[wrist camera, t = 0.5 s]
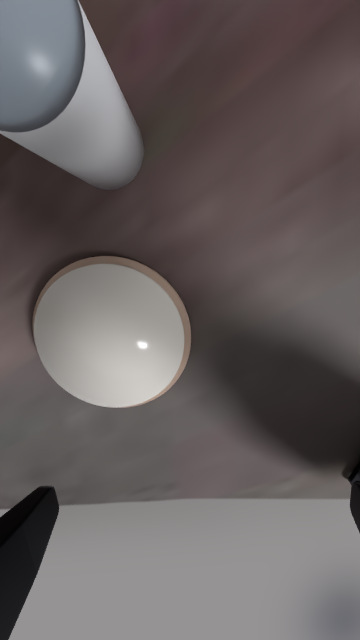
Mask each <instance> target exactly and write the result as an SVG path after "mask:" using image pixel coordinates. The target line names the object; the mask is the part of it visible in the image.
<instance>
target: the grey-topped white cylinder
mask: <svg viewBox="0 0 360 640" xmlns="http://www.w3.org/2000/svg"><path fill="white" fill-rule="evenodd" d="M0 134H2V135H4V136H6V137H7V138H9V139H11V140H13V141H14V142H16V143H18V144H20V145H21V146H23V147H25V148H27V149H28V150H30V151H32V152H34V153H35V154H37V155H39V156H41V157H43V158H44V159H46V160H48V161H50V162H51V163H53V164H55V165H57V166H58V167H60V168H62V169H64V170H65V171H67V172H69V173H71V174H72V175H74V176H76V177H78V178H79V179H81V180H83V181H85V182H86V183H88V184H90V185H92V186H94V187H96V188H99V189H102V190H116V189H120V188H122V187H124V186H126V185H127V184H129V183H130V182H131V181H132V180H133V179H134V178H135V177H136V175H137V174H138V172H139V170H140V168H141V165H142V162H143V156H144V144H143V139H142V135H141V132H140V130H139V128H138V126H137V124H136V121H135V119H134V117H133V115H132V113H131V111H130V109H129V107H128V104H127V102H126V100H125V98H124V96H123V94H122V92H121V90H120V88H119V85H118V83H117V81H116V79H115V77H114V75H113V73H112V71H111V68H110V66H109V64H108V62H107V60H106V58H105V56H104V54H103V51H102V49H101V47H100V45H99V43H98V41H97V39H96V37H95V34H94V32H93V30H92V28H91V26H90V24H89V22H88V20H87V18H86V15H85V13H84V11H83V9H82V7H81V5H80V3H79V1H78V0H0Z"/></svg>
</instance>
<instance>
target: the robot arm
mask: <svg viewBox="0 0 360 640" xmlns="http://www.w3.org/2000/svg"><path fill="white" fill-rule="evenodd" d="M349 482H350V484H351V485H352V487H351V498H350V509H351V513H352V516H353V518H354V521H355V523H356V525H357V528H358V530H359V532H360V463H359V464H358V465H357V467H356V468H355V470H354V471H353V473H352V474H351V475H350V477H349ZM58 512H59V504H58V500H57V496H56V492H55V489H54V487H53V486H40V487H38V488H37V489H36V490H34V491H33V492H32V493H30V494H29V495H28V496H27V497H25V498H24V499H23V500H22V501H20V502H19V503H18V504H17V505H15V506H14V507H13V508H12V509H10V510H9V511H8V512H6V513H5V514H4V515H3V516H2V517H0V640H8V639H9V637H10V635H11V632H12V630H13V628H14V626H15V623H16V621H17V619H18V617H19V614H20V612H21V610H22V607H23V605H24V603H25V601H26V598H27V596H28V594H29V592H30V589H31V587H32V585H33V582H34V580H35V578H36V575H37V573H38V570H39V567H40V565H41V562H42V559H43V556H44V553H45V551H46V548H47V545H48V542H49V539H50V536H51V533H52V530H53V528H54V525H55V522H56V519H57V516H58Z"/></svg>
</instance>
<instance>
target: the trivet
mask: <svg viewBox="0 0 360 640" xmlns="http://www.w3.org/2000/svg"><path fill="white" fill-rule="evenodd" d="M33 337H34V342H35V346H36V349H37V352H38V354H39V357H40V359H41V361H42V363H43V365H44V367H45V369H46V370H47V371H48V373H49V374H50V376H51V377H52V378H53V379H54V380H55V381H56V382H57V383H58V384H59V385H60V386H61V387H62V388H63V389H64V390H66V391H67V392H69V393H70V394H72V395H73V396H75V397H77V398H79V399H81V400H83V401H86V402H88V403H91V404H95V405H98V406H104V407H113V408H124V407H132V406H138V405H141V404H144V403H147V402H149V401H151V400H154V399H156V398H157V397H159V396H160V395H162V394H163V393H165V392H166V391H167V390H168V389H170V388H171V387H172V385H173V384H174V383H175V382H176V381H177V380H178V378H179V377H180V375H181V374H182V372H183V370H184V368H185V366H186V363H187V360H188V357H189V353H190V348H191V327H190V321H189V317H188V314H187V311H186V308H185V306H184V304H183V302H182V300H181V298H180V296H179V295H178V293H177V292H176V291H175V289H174V288H173V287H172V286H171V284H170V283H169V282H168V281H167V280H166V279H165V278H164V277H162V276H161V275H160V274H159V273H157V272H156V271H154V270H153V269H151V268H150V267H148V266H146V265H144V264H142V263H140V262H137V261H134V260H131V259H128V258H123V257H117V256H98V257H90V258H86V259H82V260H79V261H77V262H74V263H72V264H70V265H68V266H66V267H65V268H63V269H61V270H60V271H59V272H58V273H56V274H55V275H54V276H53V277H52V278H51V279H50V280H49V281H48V283H47V284H46V285H45V287H44V288H43V290H42V291H41V293H40V295H39V297H38V300H37V302H36V306H35V309H34V314H33Z"/></svg>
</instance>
